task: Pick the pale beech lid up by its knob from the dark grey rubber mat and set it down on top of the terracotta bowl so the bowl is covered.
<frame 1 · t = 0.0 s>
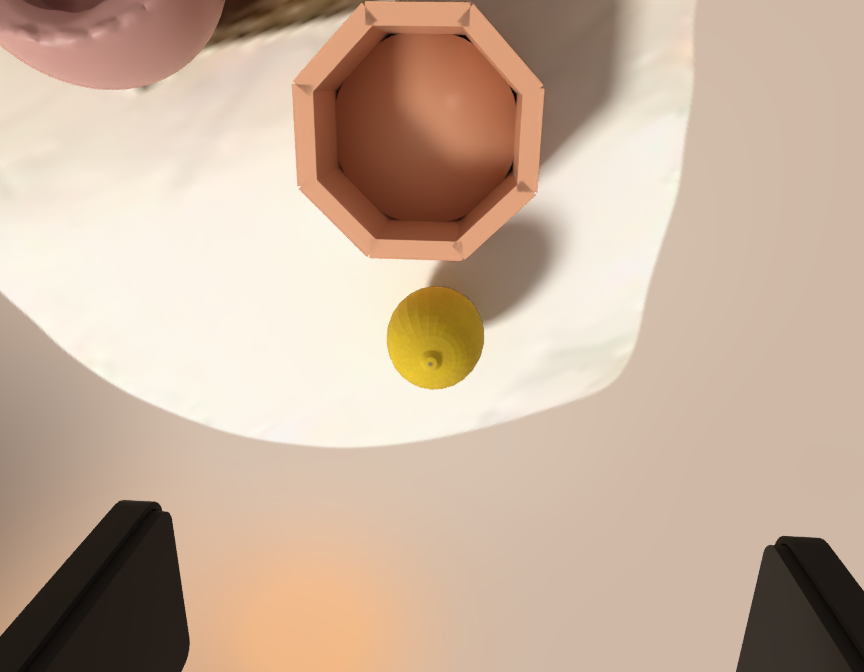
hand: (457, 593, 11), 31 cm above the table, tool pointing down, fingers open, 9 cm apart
bowl: (426, 130, 38), on the table
lemon: (440, 313, 42), on the table
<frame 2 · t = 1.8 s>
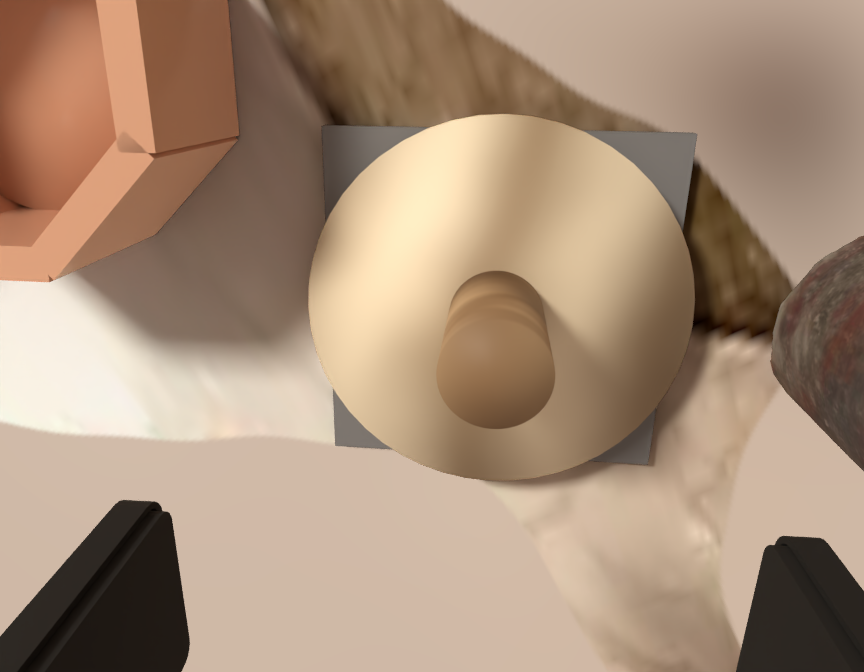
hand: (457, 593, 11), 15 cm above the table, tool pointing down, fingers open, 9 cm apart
lid: (496, 307, 24), resting on mat
mat: (496, 302, 24), on the table
bowl: (59, 57, 22), on the table
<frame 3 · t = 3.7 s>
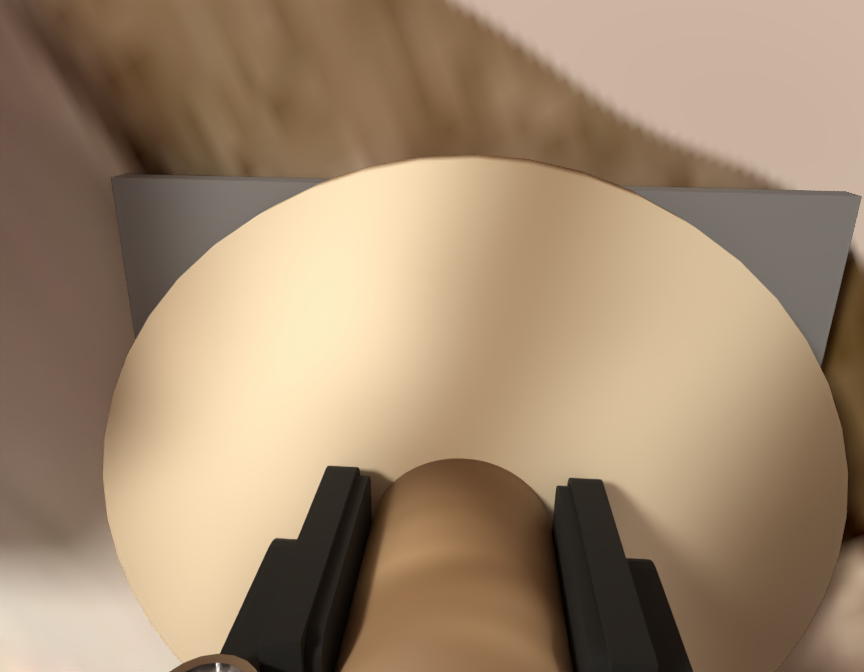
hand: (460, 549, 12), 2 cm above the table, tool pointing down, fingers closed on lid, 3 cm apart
lid: (462, 503, 13), resting on mat, touching gripper
mat: (462, 489, 13), on the table
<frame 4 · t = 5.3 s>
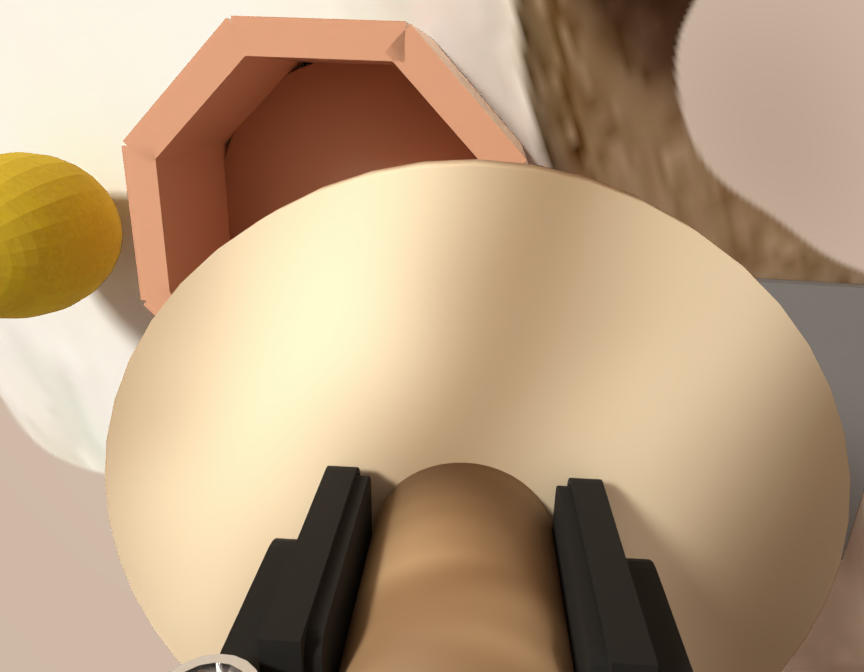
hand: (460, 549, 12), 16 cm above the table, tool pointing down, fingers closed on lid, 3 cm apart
lid: (464, 507, 13), point 15 cm above the table, touching gripper
mat: (721, 418, 28), on the table
bowl: (360, 204, 26), on the table
lemon: (95, 213, 27), on the table
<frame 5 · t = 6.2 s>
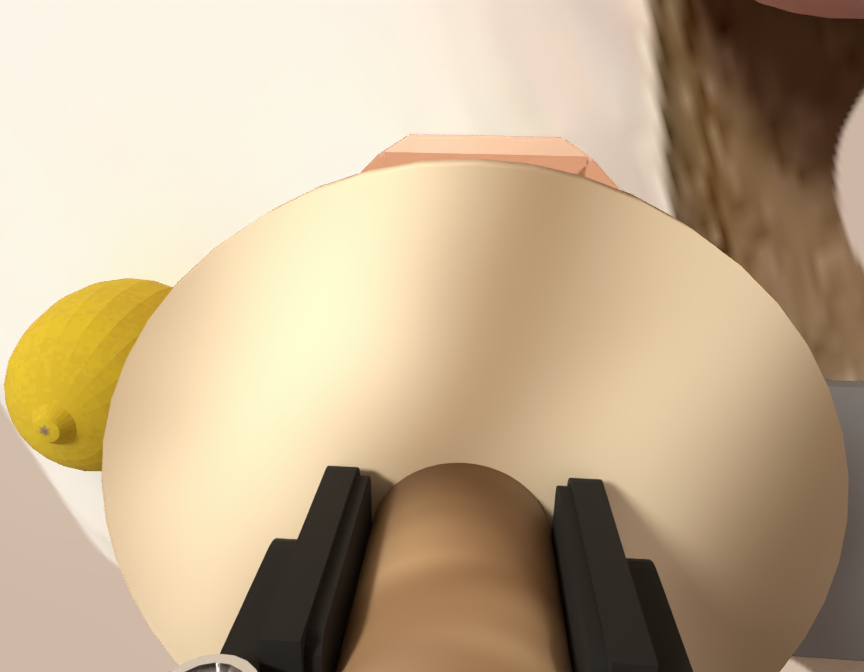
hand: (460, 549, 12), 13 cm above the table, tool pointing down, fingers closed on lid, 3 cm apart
lid: (462, 507, 13), point 12 cm above the table, touching gripper
bowl: (478, 312, 24), on the table
lemon: (180, 325, 25), on the table
when the fingers open (9 cm above the table, at t = 7.1 s): lid drops 1 cm, resting on bowl.
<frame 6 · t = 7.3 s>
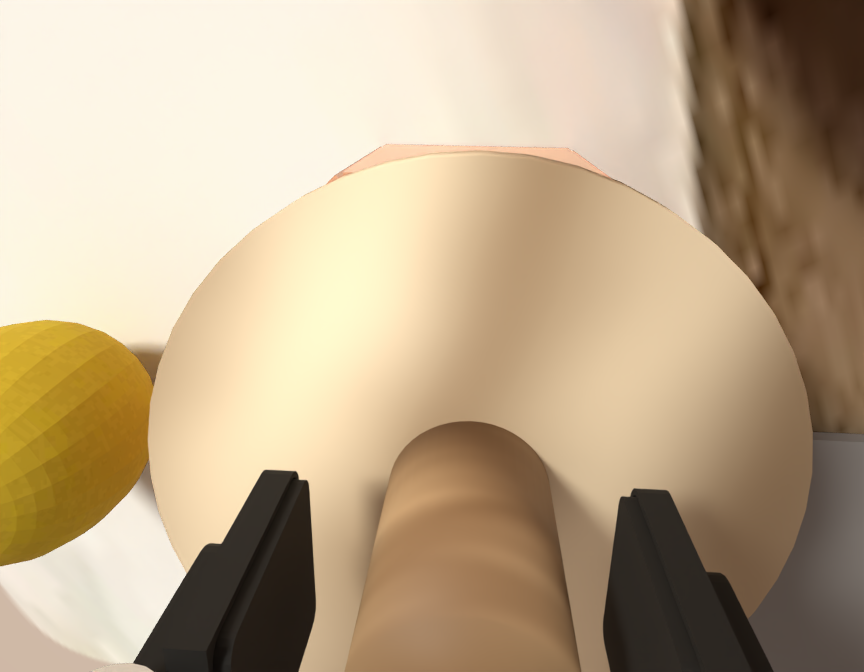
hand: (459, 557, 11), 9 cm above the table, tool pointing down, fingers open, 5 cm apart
lid: (469, 465, 14), point 6 cm above the table, touching bowl
bowl: (468, 356, 20), on the table
lemon: (117, 368, 21), on the table
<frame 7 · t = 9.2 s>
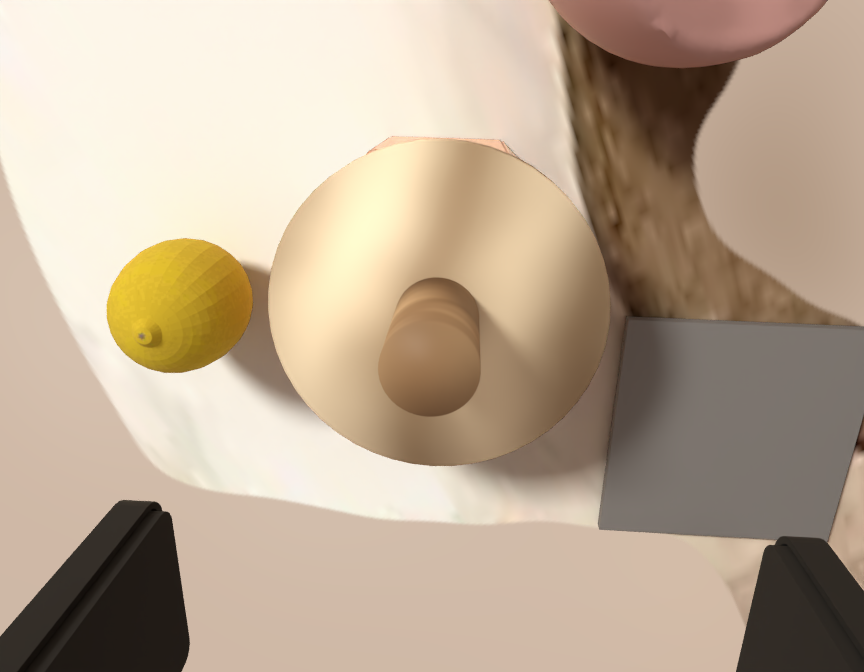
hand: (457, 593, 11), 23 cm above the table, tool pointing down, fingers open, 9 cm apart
lid: (438, 309, 26), point 6 cm above the table, touching bowl
mat: (729, 432, 34), on the table
bowl: (441, 268, 32), on the table
lemon: (218, 277, 33), on the table
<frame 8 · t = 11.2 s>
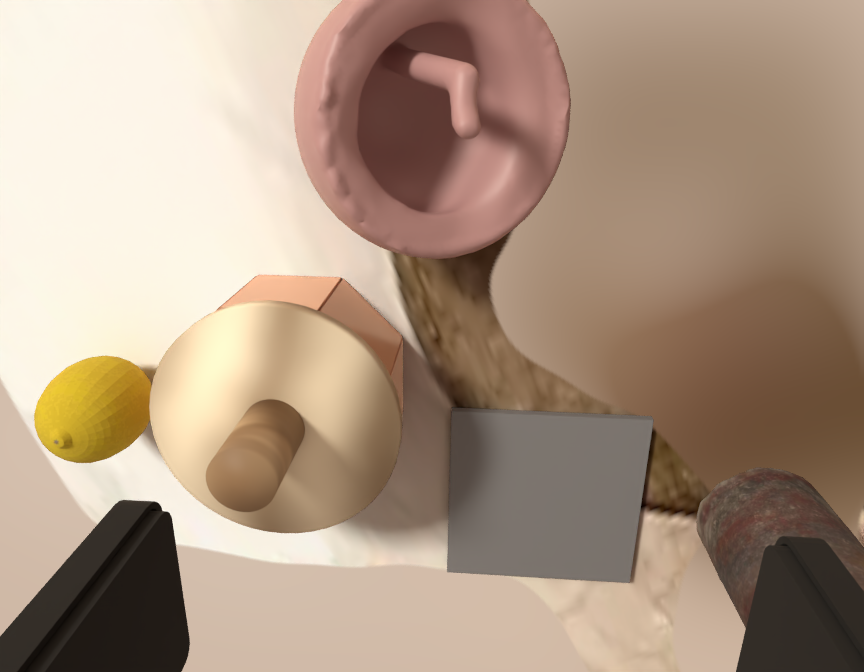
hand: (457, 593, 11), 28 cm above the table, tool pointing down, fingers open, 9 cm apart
lid: (279, 418, 35), point 6 cm above the table, touching bowl
mat: (543, 496, 43), on the table
bowl: (305, 371, 41), on the table
mortar and pestle: (441, 114, 35), on the table
candle: (751, 504, 42), on the table
lemon: (133, 377, 42), on the table
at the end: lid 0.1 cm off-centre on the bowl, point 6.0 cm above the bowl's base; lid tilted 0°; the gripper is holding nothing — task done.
